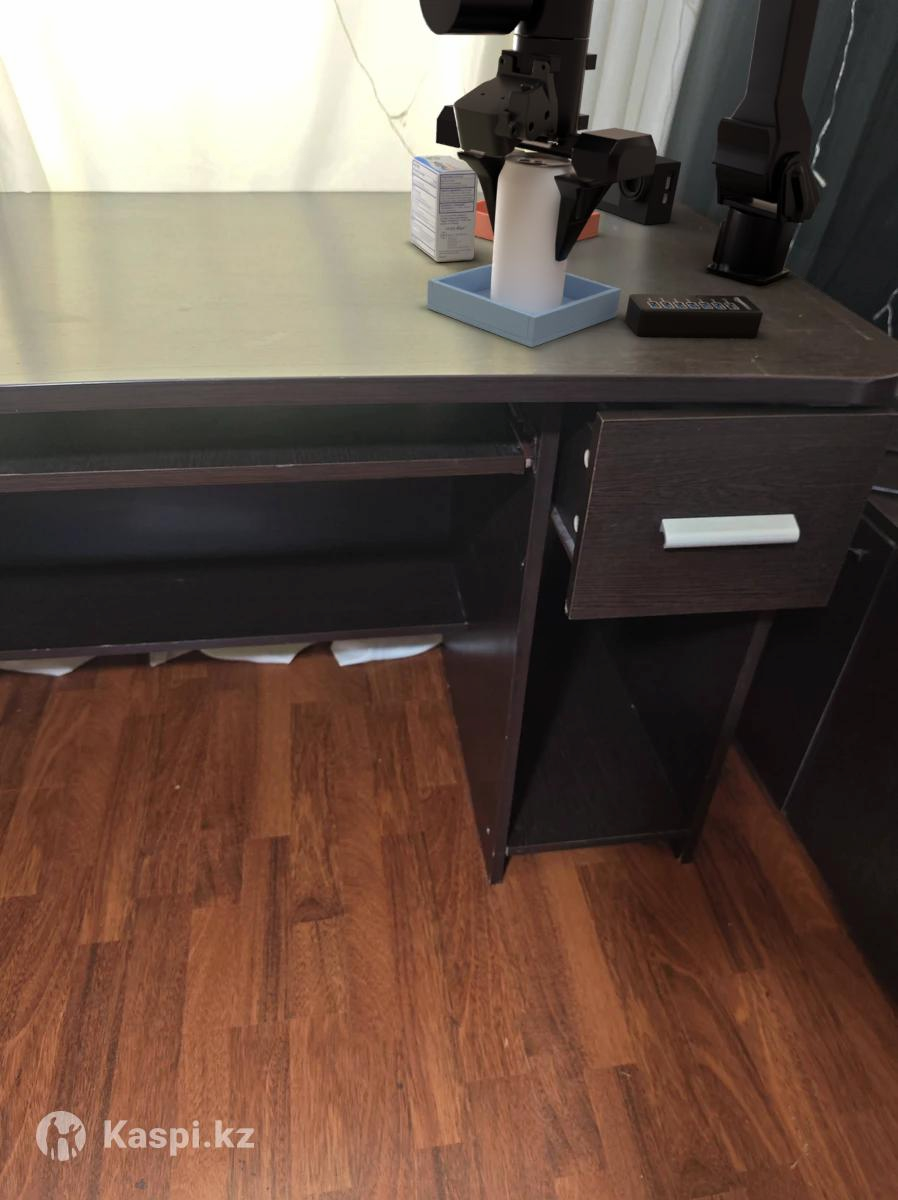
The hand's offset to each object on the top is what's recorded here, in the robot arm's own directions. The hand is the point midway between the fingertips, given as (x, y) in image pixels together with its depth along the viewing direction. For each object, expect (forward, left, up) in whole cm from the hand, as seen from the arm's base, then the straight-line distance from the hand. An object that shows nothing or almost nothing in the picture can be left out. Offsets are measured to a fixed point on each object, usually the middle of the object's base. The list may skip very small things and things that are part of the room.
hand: (529, 251), depth 74 cm
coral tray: (+18, -22, -5) cm, 29 cm away
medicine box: (+18, -8, -6) cm, 20 cm away
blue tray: (0, 0, -5) cm, 5 cm away
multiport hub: (-12, -9, -6) cm, 16 cm away
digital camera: (+16, -40, -6) cm, 43 cm away
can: (0, 0, -5) cm, 5 cm away
